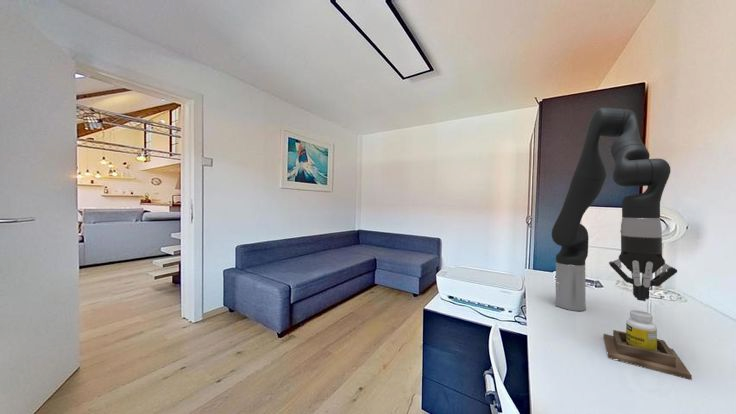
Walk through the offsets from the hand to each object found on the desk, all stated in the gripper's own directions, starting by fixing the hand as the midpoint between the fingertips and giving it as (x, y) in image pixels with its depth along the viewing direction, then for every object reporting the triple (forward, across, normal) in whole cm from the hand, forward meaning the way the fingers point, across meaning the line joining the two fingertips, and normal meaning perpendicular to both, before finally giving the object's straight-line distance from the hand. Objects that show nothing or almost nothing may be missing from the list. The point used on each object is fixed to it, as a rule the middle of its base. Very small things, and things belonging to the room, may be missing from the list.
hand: (641, 299), depth 70 cm
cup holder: (+15, 0, 0) cm, 15 cm away
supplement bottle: (+14, 0, 0) cm, 14 cm away
